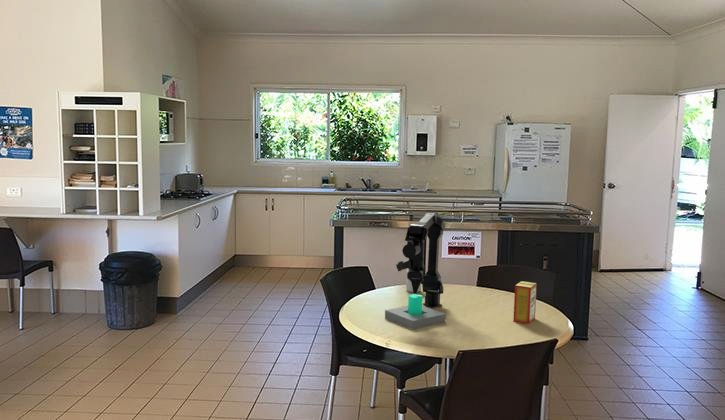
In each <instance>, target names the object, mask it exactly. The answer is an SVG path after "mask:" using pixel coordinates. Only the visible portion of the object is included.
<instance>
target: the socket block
mask: <svg viewBox="0 0 725 420" xmlns="http://www.w3.org/2000/svg"><path fill="white" fill-rule="evenodd" d="M446 315H447V314H446V313H444V312H441V311H438V310H436V309H433V308H431V307H428V306H425V305H422V314H420V315H415V316H414V315H411V314H408V305H404V306H401V307H396V308H395V307H394V308H389V309H384V319H386V320H389V321H390V322H391V321H392V322H393V323H395V324H398V325H401V326H403V327H406V328H408V329H411V330H416V329H420V328H425V327H430V326H434V325H439V324H443V323H446V318H447V317H446Z"/></svg>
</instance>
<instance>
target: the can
mask: <svg viewBox="0 0 725 420" xmlns="http://www.w3.org/2000/svg"><path fill="white" fill-rule="evenodd" d="M408 271H409V270H408V269H407V270H406V274H407V273H408ZM405 277H406V280H405V283H406V284H405V286H406V287H405V290H406V291H407V292H409V293H413V288H412V283H411V281H410V280H409V279H408V278H407V276H405ZM421 290H422V283H421V284H420V286H419V288H418V291H417V293H419V292H421Z"/></svg>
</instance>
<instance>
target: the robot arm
mask: <svg viewBox="0 0 725 420" xmlns="http://www.w3.org/2000/svg"><path fill="white" fill-rule="evenodd" d="M445 225H446V224H445V222H444V219H442V218H441V217H439V216H438V214H437V213H433V212H426V213H425V214H424V216H423V217H422V218H421V219H420V220H419V221H417V222H413V223H410V224H409V226H408V228H407V231H406V236H405V237H404V238H405V239H404V241H405V242H406V244H405V245H404V246H403V248H402V250H401V251H402V254H403V256H404V257H405V258H407V259H403V260H400V261H397V262H396V263H395V265H396V269H397V272H402V271H403V270H406V269H407V270H409V271H408V273H407V272H406V277H407V278H408V279H409V280H410V281H411V283H412V288H413V292H412V294H417V293H418V292H417V291H418V288H419V286H420V284H421V289H422V293H425V296H424V303H423V302H422V306H425V307H428V308H431V309H433V308H438V307H442V306H443V304H441V303H440V302H441V295H442V294H444V285H443V282H442V276H441V275H440V274H441V273H439V271H438V270H439V255H440V253H439V251H440V239H441V238H442V237H443V235H444V231H445V228H446V226H445ZM427 238H428V257H427V258H428V259H427V260H428V261H427V270H426V265H425V264H424V261H425V254H424V253H425V241H426V240H427ZM425 270H426V272H425ZM424 273H425V274H424Z"/></svg>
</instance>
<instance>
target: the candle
mask: <svg viewBox="0 0 725 420" xmlns="http://www.w3.org/2000/svg"><path fill="white" fill-rule="evenodd" d="M407 301H408V303H407V306H408V314H411V315H414V316H415V315H420V314H422V306H423V295H422V294H417V293H416V294H414V293H412V294H408V300H407Z"/></svg>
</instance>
